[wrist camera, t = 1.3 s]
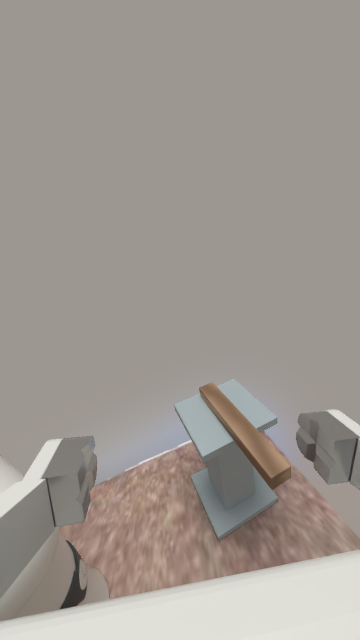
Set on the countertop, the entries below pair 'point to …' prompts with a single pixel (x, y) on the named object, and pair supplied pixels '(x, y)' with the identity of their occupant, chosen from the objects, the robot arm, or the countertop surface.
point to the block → (247, 437)
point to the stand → (227, 461)
